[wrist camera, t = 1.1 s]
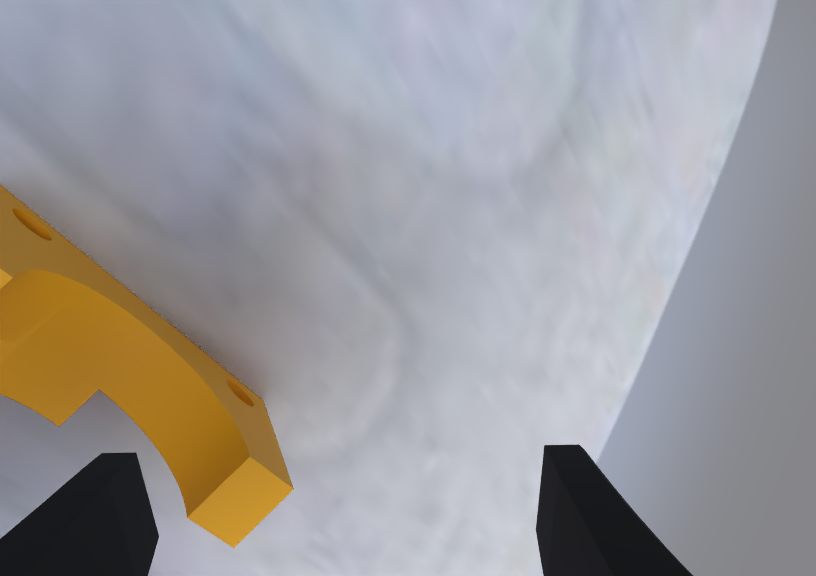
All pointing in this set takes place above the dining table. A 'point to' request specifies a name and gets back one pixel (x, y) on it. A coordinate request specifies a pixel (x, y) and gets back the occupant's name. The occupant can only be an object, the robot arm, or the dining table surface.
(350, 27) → the dining table surface
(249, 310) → the dining table surface
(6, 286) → the pipe clamp
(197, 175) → the dining table surface
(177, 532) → the dining table surface
